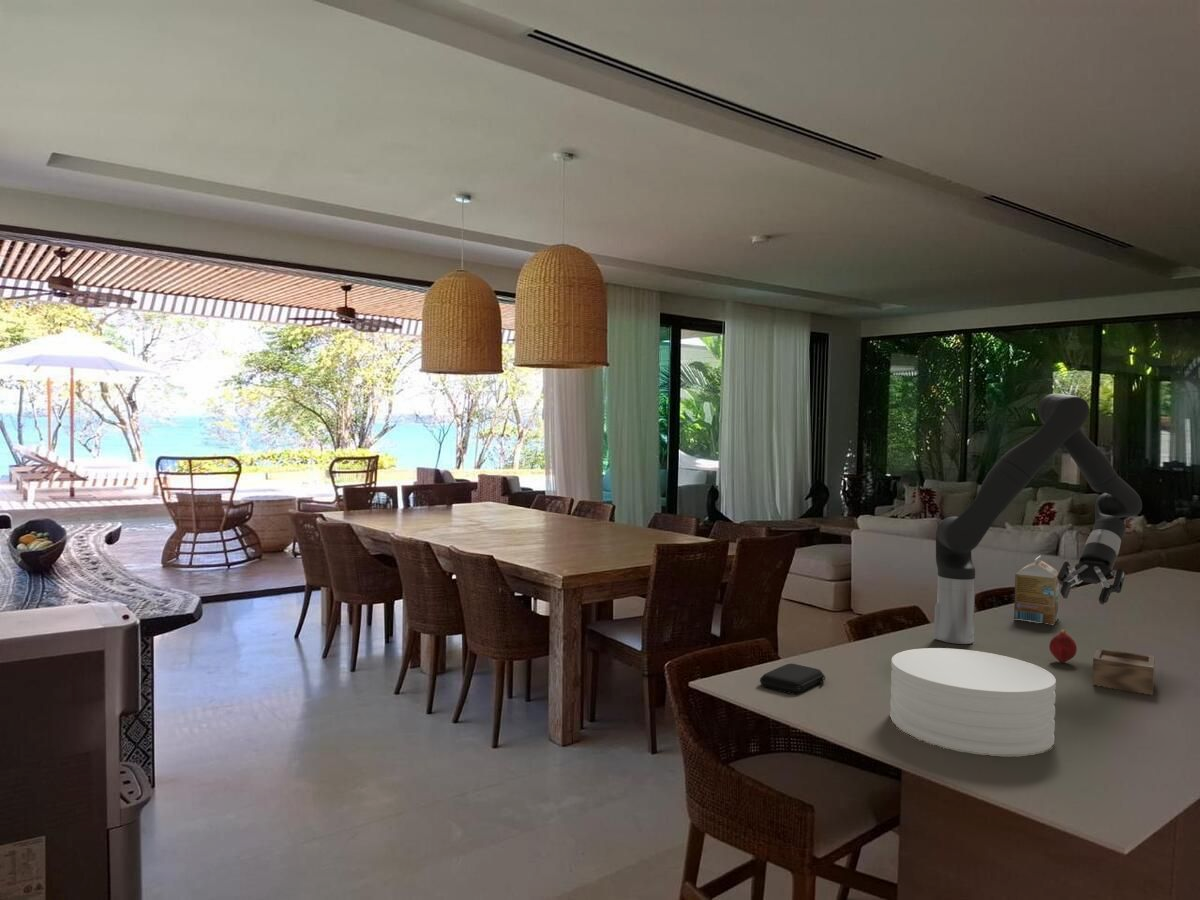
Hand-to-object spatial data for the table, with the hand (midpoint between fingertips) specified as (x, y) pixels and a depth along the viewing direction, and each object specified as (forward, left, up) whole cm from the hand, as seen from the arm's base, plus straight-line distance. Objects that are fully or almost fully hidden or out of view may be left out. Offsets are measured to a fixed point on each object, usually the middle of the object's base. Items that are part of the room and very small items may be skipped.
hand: (1082, 599), depth 202 cm
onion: (-3, -11, -14) cm, 18 cm away
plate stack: (-12, -73, -15) cm, 75 cm away
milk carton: (-15, +38, -15) cm, 44 cm away
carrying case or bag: (-48, -69, -15) cm, 85 cm away
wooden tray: (+10, -22, -14) cm, 28 cm away
